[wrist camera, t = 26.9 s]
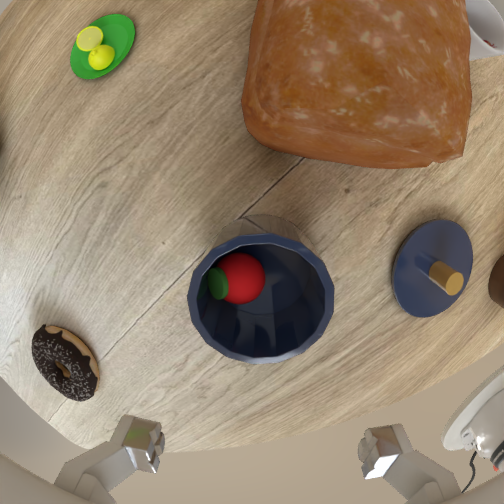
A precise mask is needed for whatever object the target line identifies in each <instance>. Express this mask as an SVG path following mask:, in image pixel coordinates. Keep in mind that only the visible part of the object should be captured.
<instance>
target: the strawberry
mask: <svg viewBox="0 0 504 504" xmlns="http://www.w3.org/2000/svg"><path fill="white" fill-rule="evenodd" d="M264 285H265V272H264V269H263V267H262V265H261V263H260V262H259V261H258V260H257V259H256V258H255V257H253V256H251V255H249V254H246V253H233V254H230V255H227V256H226V257H224V258H223V259H222V260H221V261H220V262H219V263H218V265H217V266H216V267H215V268H211V269H210V270H209V272H208V286H209V289H210V292H211V294H212V295H213V297H214V298H216V299H224V300H226V301H228V302H230V303H233V304H246V303H249V302H251V301H253V300H255V299H256V298H257V297H258V296H259V295H260V294H261V292H262V290H263V288H264Z"/></svg>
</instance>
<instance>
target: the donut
mask: <svg viewBox="0 0 504 504" xmlns="http://www.w3.org/2000/svg"><path fill="white" fill-rule="evenodd" d="M32 356H33V360H34V361H35V365H36V366H37V368H38V370H39V371H40V374H42V376H43V377H44V378H45V380H47V382H49V383H50V385H51V386H52V387H54V388H55V389H56V390H58V391H59V392H60V393H62V394H63V395H64V396H66V397H67V398H68V399H72V400H75V401H80V402H81V401H85V400H88V399H90V398H91V397H92V396H94V392H95V391H97V389H98V387H99V380H100V377H99V370H98V366H97V363H96V361H95V359H94V357H93V355H92V354H91V352H90V350H89V349H88V347H87V346H86V345H85V344H84V343H83V342H82V341H81V340H80V339H79V338H78V337H76V336H75V335H73V334H72V333H70V332H69V331H68V330H65V329H62V328H59V327H56V326H47V327H46V324H43V326H42V327H41V328H40V329H39V330H38V331H36V332H35V334H34V336H33V339H32ZM61 363H62V364H63V365H65V366H66V367H67V368H68V370H67V369H66V368H65V367H64V366H63V365H62V364H61Z"/></svg>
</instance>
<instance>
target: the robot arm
mask: <svg viewBox="0 0 504 504" xmlns="http://www.w3.org/2000/svg"><path fill="white" fill-rule="evenodd" d="M161 428H162V426H161V423H160V422H155V421H151V420H147V419H142V418H138V417H134V416H130V415H126V414H124V415H123V416H122V417H121V419H120V421H119V423H118V425H117V427H116V429H115V431H114V433H113V435H112V437H111V440H110V442H107V441H106V442H104V443H102V444H100V445H98V446H97V447H95V448H93V449H91V450H89V451H87V452H85V453H83V454H82V455H80V456H78V457H76V458H74V459H72V460H70V461H68V462H66V463H65V464H64V466H63V468H62V470H61V471H60V473H59V475H58V477H57V479H56V481H55V483H54V484H51V483H50V482H48V481H46V480H44V479H42V478H40V477H39V476H37V475H35V474H33V473H32V472H30V471H28V470H27V469H25V468H23V467H22V466H20V465H19V464H17V463H16V462H14V461H13V460H11V459H10V458H8V457H7V456H5V455H4V454H2V453H1V452H0V504H116V501H115V500H114V499H113V497H112V496H111V495H110V494H109V493H108V492H109V491H110V490H112V489H113V488H114V487H116V486H117V485H118V484H120V483H121V482H122V481H124V480H125V479H126V478H128V477H129V476H130V475H131V474H132V473H134V472H135V471H136V469H137V470H141V471H145V472H150V473H155V474H156V472H157V469H158V466H159V463H160V461H159V458H158V456H159V455H161V454H162V453H163V450H164V445H165V437H164V434H163V433H162V432H161ZM364 436H365V437H364V438H363V439H361V441H360V443H359V445H358V456H359V460H361V461H362V462H363V463H364V464H363V466H362V471H363V475H364V479H370V478H376V477H381V476H383V478H384V479H385V480H386V481H387V482H388V483H390V485H392V486H393V487H394V488H395V489H396V490H397V491H398V492H399V493H400V494H402V495H403V496H404V497H405V498H406V499H407V500H408V501H407V502H406V503H405V504H504V389H503V390H501V391H500V392H498V393H497V394H496V395H495V396H493V397H492V398H491V399H490V400H489V401H488V402H487V403H486V404H485V405H484V406H483V407H482V408H481V409H480V410H479V411H478V412H477V414H476V415H475V416H474V417H473V419H472V420H471V421H470V423H469V424H468V425H467V426H466V427H465V428H464V429H463V430H462V431H461V432H460V436H461V439H462V442H463V445H464V448H465V450H466V451H468V450H471V449H473V448H475V450H476V451H475V452H474V454H473V456H472V458H471V461H470V466H471V467H472V470H473V475H472V478H471V480H470V482H469V484H468V485H467V486H466V488H465V489H464V490H463V491H462V492H461V490H460V488H459V486H458V483H457V481H456V479H455V477H454V474H453V473H452V472H450V471H449V470H447V469H445V468H444V467H442V466H441V465H439V464H437V463H436V462H434V461H433V460H431V459H429V458H428V457H426V456H425V455H423V454H422V453H420V452H419V451H417V450H415V451H414V450H413V448H412V446H411V443H410V441H409V439H408V437H407V434H406V432H405V430H404V428H403V425H402V424H394V425H387V426H382V427H375V428H368V429H367V430H366V431H365V433H364ZM476 453H478V455H479V456H480V457H483V458H490V461H491V462H492V463H493V467H494V470H495V471H497V470H498V469H500V471H501V473H500V474H499V475H497V476H495V477H494V478H492V479H490V480H488V481H486V482H485V483H483V484H481V485H479V486H477V487H475V488H473V489H471V490H469V491H467V492H465V493H463V492H464V491H465V490H466V489H467V488H468V487H469V485H470V484H471V482H472V481H473V479H474V476H475V467H474V465H473V463H472V462H473V460H474V458H475V456H476ZM462 493H463V494H462Z"/></svg>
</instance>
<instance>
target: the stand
mask: <svg viewBox="0 0 504 504" xmlns="http://www.w3.org/2000/svg"><path fill="white" fill-rule="evenodd" d="M489 295H490V297H491V299H492V300H493V301H495V302H496V303H497V304H499V305H500V306H501V307H503V308H504V255H503V256H502V257H501V258H500V259H499V260H498V261H497V263H496V264H495V266H494V268H493V270H492V273H491V276H490V280H489Z"/></svg>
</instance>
